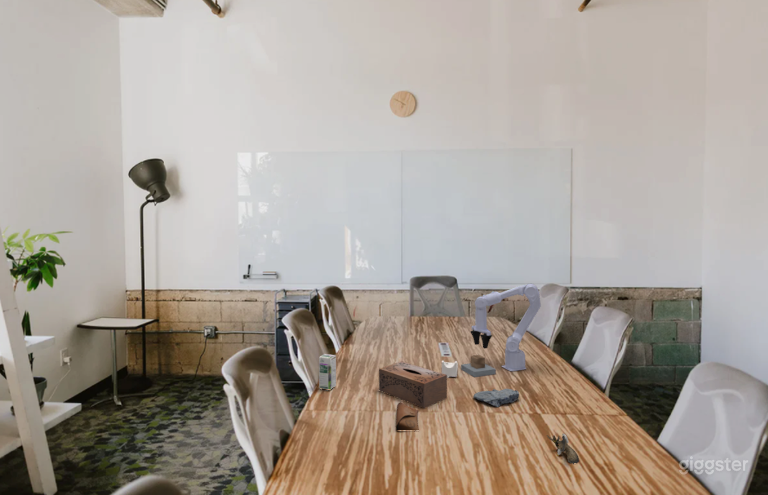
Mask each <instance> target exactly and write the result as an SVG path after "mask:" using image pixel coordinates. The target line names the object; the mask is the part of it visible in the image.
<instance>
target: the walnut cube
mask: <svg viewBox="0 0 768 495" xmlns="http://www.w3.org/2000/svg"><path fill="white" fill-rule="evenodd" d="M470 363H471V366H472V367H474V368H476V369H479V368H485V364H486V357H485V356H483V355H480V354H476V355H475V354H474V355H470Z"/></svg>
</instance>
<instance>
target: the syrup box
mask: <svg viewBox="0 0 768 495" xmlns="http://www.w3.org/2000/svg"><path fill="white" fill-rule="evenodd" d="M318 374H319V376H318V378H319V381H318V383H319V384H318V386H319V387H318V388H323V389H332V388H333V387H335V386H336V387H337V356H336V354H327V353H323V354H322V355H320V356H319V357H318ZM336 387H335V388H336ZM333 389H334V388H333ZM333 389H332V390H333Z"/></svg>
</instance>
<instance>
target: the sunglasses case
mask: <svg viewBox="0 0 768 495" xmlns="http://www.w3.org/2000/svg"><path fill="white" fill-rule="evenodd" d="M418 413H419V409H417V408H414V407H411V406H410V405H406V404H405V403H403V402H402V401H399V402H398V404H397V405H396V416H395V430H396V431H397V430H419V431H420V427H419V422H418V421H419V420H418Z"/></svg>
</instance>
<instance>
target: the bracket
mask: <svg viewBox="0 0 768 495" xmlns="http://www.w3.org/2000/svg"><path fill="white" fill-rule="evenodd" d="M458 364H459V363H458V361H457V360H455V361H454V362H447V361H445V360H441V373H442V374H446V375H447V379H448V378H450V377H453V378H454V377H455V378H458V368H459V367H458V366H459V365H458Z"/></svg>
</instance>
